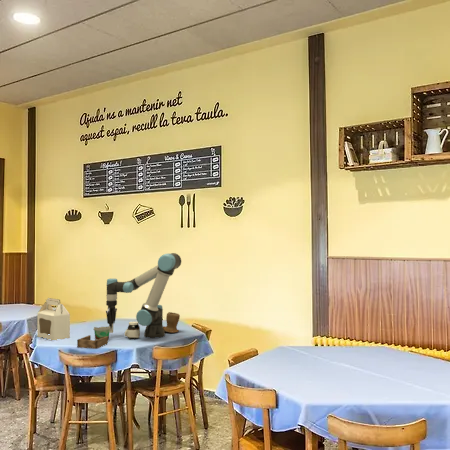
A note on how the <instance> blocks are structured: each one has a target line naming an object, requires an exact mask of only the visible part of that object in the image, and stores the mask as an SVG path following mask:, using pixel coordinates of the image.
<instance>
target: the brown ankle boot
mask: <svg viewBox="0 0 450 450" xmlns="http://www.w3.org/2000/svg"><path fill="white" fill-rule="evenodd" d="M180 317H181V316H180V314H179V313H176V312H171V311H168V312H167V313H166V319H165V321H166V326H164V325H163V328H164V332H165V333H171V334H173V333H178V332H179V331H180V330H179V329H178V328H177V326H178V325H179V324H178V323H179V321H180Z"/></svg>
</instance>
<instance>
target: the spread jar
mask: <svg viewBox="0 0 450 450" xmlns="http://www.w3.org/2000/svg"><path fill="white" fill-rule="evenodd" d="M140 326H141V325H140V324H139V323H138V322H137V321H135V320H134V321H129V322H128V326H127V328H126V329H125V331H124V336H125V337H126V338H127V339H128V340H131V339H134V340H138V339H139V338H140V335H141V327H140Z"/></svg>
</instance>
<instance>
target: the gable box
mask: <svg viewBox="0 0 450 450" xmlns="http://www.w3.org/2000/svg"><path fill="white" fill-rule="evenodd" d="M53 306H57V307H56V309H55V310H54V308H53ZM36 317H37V321H36V322H37V325H36V326H37V337H38V338H41V337H43V338H42V339H44V338H47V339H46V340H48V339H51V340H50V341H52V340H56V341H58V340H57V339H61V340H65V338H67V339H70V338H71V337H70V336H71V314H70V312H69V310H67V308H66V307H65V305H64V304H63V303H61V299H58V298H53V297H47V299H45V302H44V303H43V304H42V306H41V307H40V309H39V310H38V312H37V316H36ZM48 334H50V335H48Z"/></svg>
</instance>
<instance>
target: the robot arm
mask: <svg viewBox="0 0 450 450" xmlns="http://www.w3.org/2000/svg"><path fill="white" fill-rule="evenodd" d="M181 265H182V258H181V256H180V255H179V254H178V253H176V252H172V253H164V254H162V255H160V256H159V258H158V260H157V265H155V266H153V267H151V268H150V269H149V270H147V271H145V272H143V273H142V274H140V275H139V276H136V277H134V278H132V279H131V280H127V281H118V279H117V278H108V279H107V280H106V296H105V297H106V302H105V305H106V306H107V310H105V313H106V322H107V324H108V326H109V325H110V328H111V329H110V331H109V334H113V333H114V324H115V323H116V317H117V310H118V308H116V306H117V305H118V301H117V300H118V293H124V294H128V293H133V292H134V291H136V290H138V289H139V288H141V287H142V286H144V285H147V283H150V282H151V281H153V280H154V282H153V284H152V287H151V288H150V291H149V294H148V297H147V299H146V301H145V302H143V303H142V305H141V307H140V310H138V311H137V313H136V314H135V319H136V322H138V325H139V326H142V327H145V330H144V333H143V336H144V337H145V338H147V337H150V338H151V339H155V337H159V338H163V336H164V337H165V335H166V332H165V331H164V328H163V327H164V325H163V315H164V314H163V313H164V312H163V310H164V309H163V305H162V304H159V303H160V301H161V299H162V296H163V293H164V291H165V289H166V286H167V283H168V281H169V279H170V277H171V276H173V275H174V272H175V270H177V269H178V268H179V267H180V266H181ZM150 338H149V339H150Z"/></svg>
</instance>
